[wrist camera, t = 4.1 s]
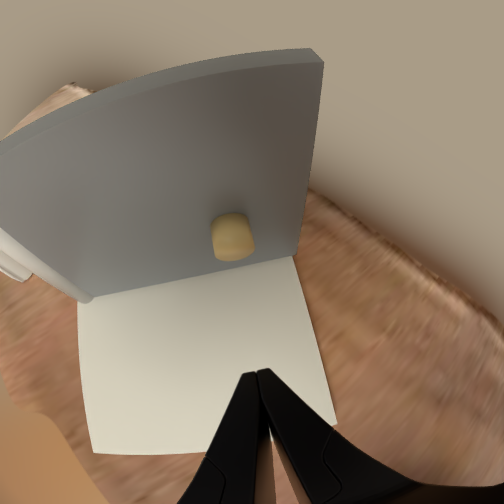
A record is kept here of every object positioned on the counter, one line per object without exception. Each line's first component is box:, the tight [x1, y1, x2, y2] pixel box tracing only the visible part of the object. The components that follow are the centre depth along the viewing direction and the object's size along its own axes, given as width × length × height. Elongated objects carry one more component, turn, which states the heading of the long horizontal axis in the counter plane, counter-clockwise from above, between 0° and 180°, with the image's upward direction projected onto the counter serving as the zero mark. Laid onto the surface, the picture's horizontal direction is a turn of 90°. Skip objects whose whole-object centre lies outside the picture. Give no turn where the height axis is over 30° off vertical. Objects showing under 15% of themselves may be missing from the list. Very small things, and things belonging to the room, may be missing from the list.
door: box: [0, 48, 324, 304], centre depth 13 cm, size 3×17×14 cm, turn 102°
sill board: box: [78, 256, 337, 455], centre depth 19 cm, size 14×17×1 cm
